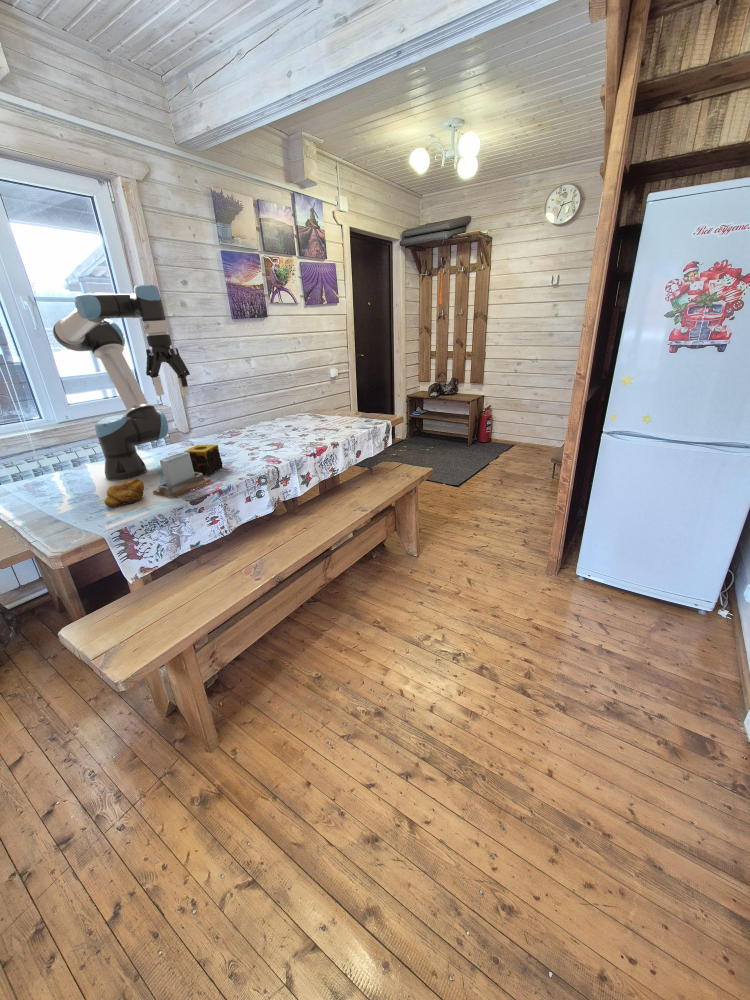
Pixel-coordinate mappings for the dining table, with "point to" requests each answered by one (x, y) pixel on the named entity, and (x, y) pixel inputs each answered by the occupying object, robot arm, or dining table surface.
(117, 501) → the bread roll
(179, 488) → the track
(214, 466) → the candle
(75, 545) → the dining table surface
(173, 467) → the grey upright block
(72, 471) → the dining table surface
